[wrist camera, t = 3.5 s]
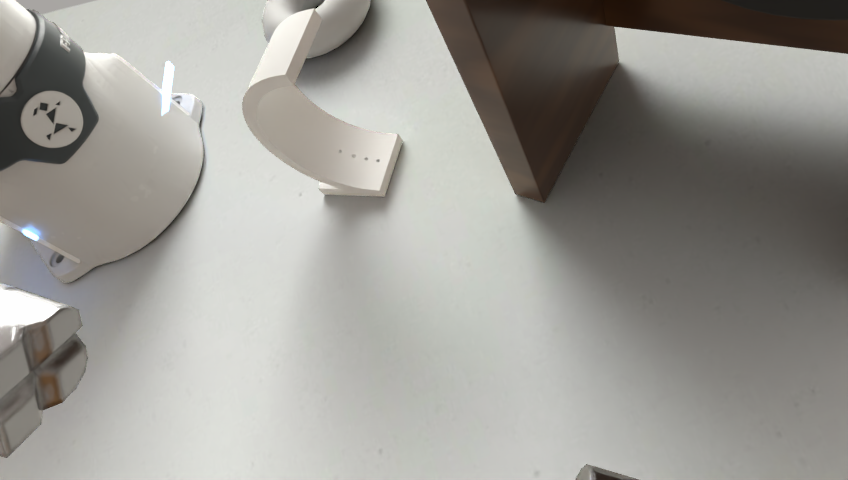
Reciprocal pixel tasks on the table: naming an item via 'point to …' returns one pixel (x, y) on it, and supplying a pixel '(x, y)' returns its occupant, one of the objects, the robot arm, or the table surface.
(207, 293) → the table surface
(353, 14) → the donut
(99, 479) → the table surface
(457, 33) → the shelf
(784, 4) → the roll
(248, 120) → the headphone stand
